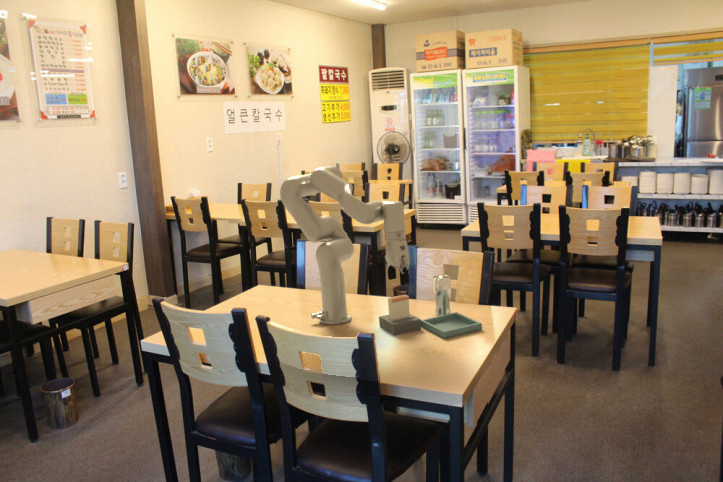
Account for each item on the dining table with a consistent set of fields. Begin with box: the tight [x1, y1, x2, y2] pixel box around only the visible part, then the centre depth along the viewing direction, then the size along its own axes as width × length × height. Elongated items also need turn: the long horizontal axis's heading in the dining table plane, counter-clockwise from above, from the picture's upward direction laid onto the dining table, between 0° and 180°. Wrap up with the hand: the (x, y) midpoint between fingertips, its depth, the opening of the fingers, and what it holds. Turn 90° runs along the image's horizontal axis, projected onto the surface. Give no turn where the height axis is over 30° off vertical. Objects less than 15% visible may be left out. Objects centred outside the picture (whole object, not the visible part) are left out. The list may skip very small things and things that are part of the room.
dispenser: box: [378, 313, 422, 337], centre depth 225 cm, size 11×12×4 cm
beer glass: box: [432, 274, 452, 317], centre depth 237 cm, size 7×7×15 cm
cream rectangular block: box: [387, 294, 411, 320], centre depth 224 cm, size 7×3×10 cm, turn 115°
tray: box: [421, 312, 483, 340], centre depth 221 cm, size 16×16×2 cm
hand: (398, 281), depth 222 cm, fingers open, 9 cm apart
